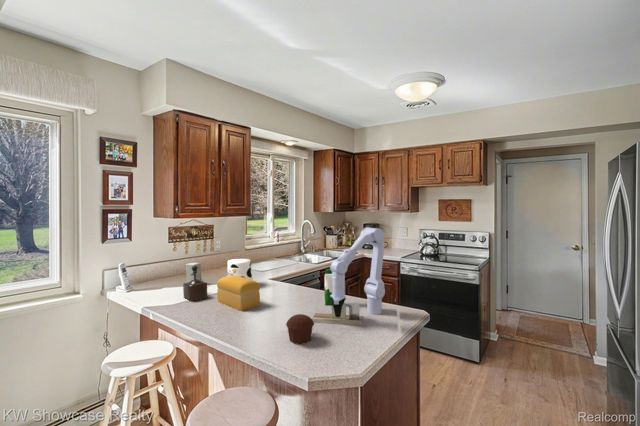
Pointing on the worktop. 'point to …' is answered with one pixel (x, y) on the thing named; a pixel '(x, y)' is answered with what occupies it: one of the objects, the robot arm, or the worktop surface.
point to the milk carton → (328, 287)
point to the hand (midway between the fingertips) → (338, 315)
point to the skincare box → (190, 271)
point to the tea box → (343, 313)
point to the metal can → (354, 311)
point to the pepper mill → (195, 288)
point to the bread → (238, 292)
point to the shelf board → (328, 319)
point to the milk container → (240, 268)
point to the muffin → (300, 328)
